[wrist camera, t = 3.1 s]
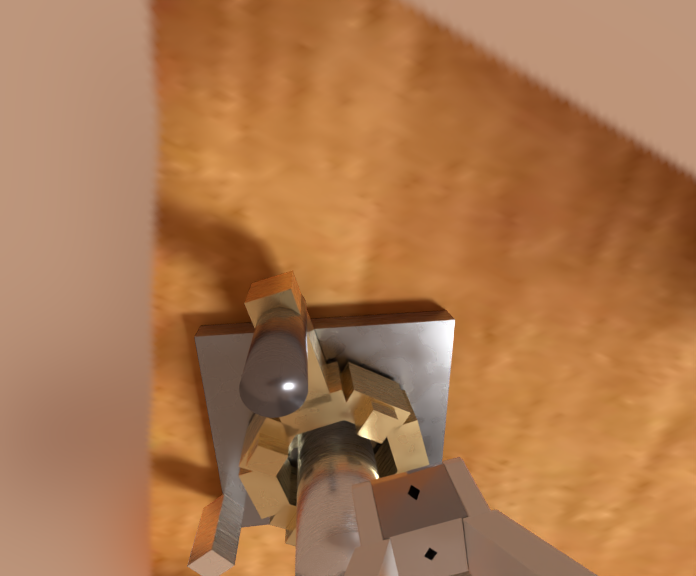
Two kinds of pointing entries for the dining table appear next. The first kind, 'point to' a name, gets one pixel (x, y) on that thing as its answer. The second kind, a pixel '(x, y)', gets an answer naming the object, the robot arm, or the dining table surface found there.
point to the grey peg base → (318, 432)
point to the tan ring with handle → (309, 402)
